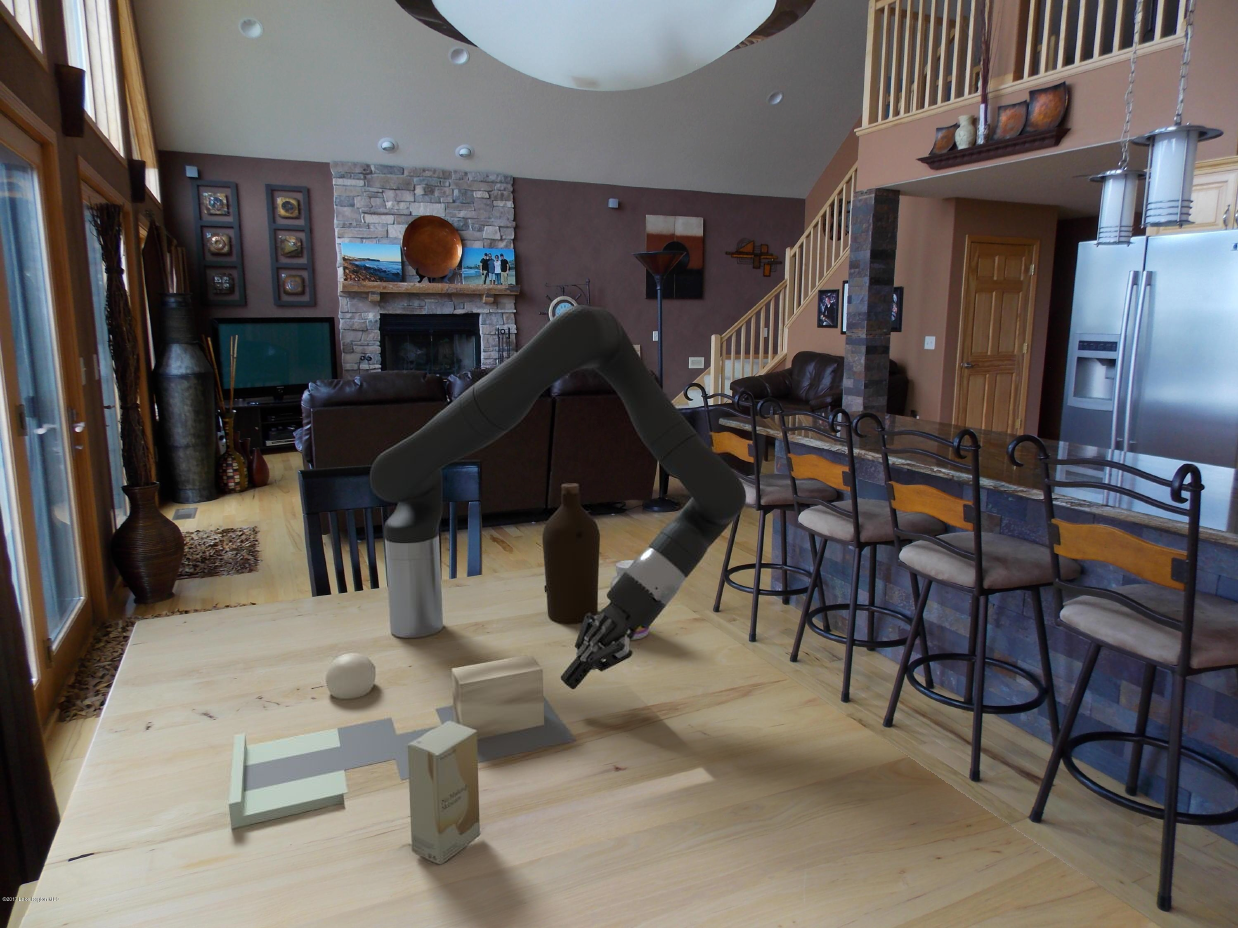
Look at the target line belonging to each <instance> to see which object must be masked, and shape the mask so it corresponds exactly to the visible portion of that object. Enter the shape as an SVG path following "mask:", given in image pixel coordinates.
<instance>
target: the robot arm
mask: <svg viewBox="0 0 1238 928" xmlns="http://www.w3.org/2000/svg"><path fill="white" fill-rule="evenodd" d="M583 368H585V369H589V368H590V369H591V368H593V370H595V371H596V372H597V373H598V374H599V375H600V376H602V377H603V378H604V379H605V380H606V382H608V384H609V385H611V386H612V388H613V389H614V390H615V392H616V393H617V395H618V396H619V397H620V399H621V401H622V403H623V405H624V407H625V409H626V411H627V413H628V415H629V419H630V421H631V424H632V425H633V427H634V429H635V431H636V433H637V435H638V437H639V438H640V439H641V441H642V442H643V444H644V445H645V446H646V448H647V449H648V450H649V452H650V453H651V455H653V457H654V458H655V459H656V460H657V462H658V463H659V464H660V465H661V467H662V468H663V469H664V470H665V471H666V472H667V473H668V475H670V476H671V477H674V478H677V479H678V481H679V482H680V483H681V485H682V486H683V487H684V488H685V490H686V491H687V492H688V493H689V494H690V496H691V498H690V499H689V500H688V502H687V503H686V504H685V505H684V507H683V508H682V509H681V511H680V512H679V513H678V514H677V515H676V517H675V518H674V519H673V520H671V521H670V522H668V524H666V526H664V527H663V528H662V529H661V530H660V532H659V533H657V536H655V538H654V539H653V540H652V541H651V543H650V544H649V545H648V546H647V547H646V548H645V550H643V551H642V552H641V553H640V554H639V555H638V556H637V557H636V558H635V559H634V560H633V563H632V564H631V565H630V566H629V567H628V569H627V570H626V571H625V572H624V573H623V575H622V576H621V577H620V578H619V579H618V581H617V582H616V583H615V584H614V585H613V587H612V588H611V587H610V589H609V590H608V591H607V593H606V598H607V599H608V600H609V604H607V605H606V606H605V607H603V609H601V610H600V611H599V613H598V614H597V615H596V616H593V615H592V614H591V613H588V614H587V615H586V616H585V618H584V621H583V622H582V623H581V627H580V629H579V632H578V636H577V639H576V640H575V644H574V648H575V649H576V653H575V658H574V660H573V661H572V662H571V663H570V664H569V666H568V667H567V668H566V669H565V671H564V672H563V673H562V674H561V676H560V680H561V681H562V682H563V683H564V685H566V686H567V687H568V688H569V689H571V690H575V689H576V688H577V687H578V686H579V685H580V684H581V683H582V682H583V680H584V679H585V678H586V677H587V675H588V674H590V672H591V671H595V670H598V671H599V672H605V671H607V670H608V669H610V668H612V667H614V666H616V665H617V664H620V663H623V661H625V660H627V659H630V658H631V657H632V656H633V650H632V649H631V648H630V647H629V646H630V641H632V640H631V639H632V638H633V637H634V635H635V633H636V631H637V629H638V628H639V627H640V626H641V627H642V628H643V629H647V628H648V627H649V628H650V626H651V625H652V624H653V623H654V621H655V620H656V619H657V618H658V616H660V614H661V613H662V612H663V610H664V609H665V608H667V605H669V603H670V602H671V601H672V599H673V598H674V597H675V596H676V595H677V593H678V592H679V590H680V588H681V587H682V586H683V583H684V582H685V581H686V579H687V578H688V577H689V576H690V575H691V574H692V572H693V571H694V570H695V568H696V567H697V566H698V565H699V563H700V562H701V561H702V560H703V558H704V557H705V555H706V554H707V551H708V549H709V548H710V547H711V546H712V545H713V544H714V542H715V541H717V539H718V538H719V537H720V536H721V535H722V534H723V532H725V530H727V528H728V527H729V526H730V525H731V524H732V523H733V521H734V520H736V518H737V517H738V516H739V515H740V513H741V512H742V511H743V509H744V507H745V505H746V503H747V501H746V500H747V494H746V493H747V491H746V488H745V486H744V484H743V482H742V481H741V479H740V478H739V476H738V475H737V474H736V472H735V471H734V470H733V469H732V468H731V467H730V466H729V465H728V463H726V462H725V461H724V460H723V459H722V458H721V457H719V455H717V454H716V453H715V452H714V451H713V450H712V449H711V448H709V447H708V445H707V444H706V443H705V441H704V440H703V439H702V438H701V437H700V435H699V433H698V432H697V431H696V430H695V428H693V426H692V425H691V424H690V423H689V421H688V420H687V419H686V418H685V417H684V415H683V414H682V413H681V412H680V410H679V409H678V408H677V407H676V406H675V404H674V403H673V402H672V401H671V400H670V398H669V397H668V395H666V393H665V391H664V390H663V389H662V388H661V386H660V385H659V384H658V382H657V380H656V379H655V377H654V376H653V374H652V373H651V372H650V370H649V369H648V367H647V365H646V364H645V363H644V361H643V359H642V358H641V356H640V355H639V353H638V351H637V349H636V348H635V346H634V345H633V343H632V341H631V339H630V337H629V335H628V334H627V331H626V330H625V329H624V327H623V325H622V324H621V321H620V320H619V319H618V318H617V316H616V315H615V314H614V313H613V312H611V311H609V310H607V309H605V308H603V307H598V306H590V305H585V304H584V305H582V304H577V305H572V306H569V307H566V308H564V309H563V310H561V311H559V312H558V313H557V314H556V315H555V316H553V317H552V318H551V319H550V321H549V322H548V323H546V324H545V325H544V326H543V327H542V329H540V331H538V333H536V335H535V336H533V338H531V340H530V341H529V342H527V344H525V345H524V346H523V347H522V348H521V349H520V350H518V352H516V353H514V354H513V355H512V356H511V357H509V358H507V359H506V360H505V361H503V362H501V364H499V366H497V367H496V368H495V369H493V370H492V371H491V372H489V373H488V374H487V375H485V376H483V377H482V378H481V379H480V380H478V381H477V382H475V383H474V384H473V385H472V386H470V387H469V388H468V389H467V390H465V391H463V393H461V394H460V395H459V396H458V397H457V398H456V399H455V400H454V401H452V402H451V403H450V404H449V405H447V406H446V407H445V408H444V409H442V410H440V412H438V413H437V414H436V415H435V416H434V417H433V418H432V419H431V420H429V421H428V422H427V423H426V424H425V425H424V426H423V427H421V428H420V429H419V430H417V431H416V432H415V433H413V434H412V435H410V436H408V437H407V438H406V439H403V440H401V441H400V442H399V443H397V444H395V445H394V446H392V447H390V448H388V449H387V450H385V451H383V452H382V453H380V454H379V455H378V456H377V458H376V459H375V460H374V462H373V463H372V466H371V468H370V473H369V484H370V488H371V490H372V491H373V494H375V495H376V496H377V497H378V498H380V499H382V500H383V501H385V502H389V503H397V506H396V508H395V509H394V511H393V513H392V514H391V515H390V516H389V517H388V519H387V520H386V521H385V522H384V529H383V533H384V546H385V557H386V558H385V561H386V575H387V578H386V579H387V591H388V592H387V593H388V606H389V607H388V611H389V625H390V626H389V627H390V632H391V634H392V635H394V636H395V637H399V638H405V639H412V638H413V639H414V638H415V639H416V638H423V637H427V636H432V635H434V634H436V633H438V632H440V631H441V630H442V629H443V628H444V619H443V617H444V614H443V597H442V596H443V595H442V594H443V593H442V573H441V555H440V537H439V535H440V534H439V527H440V526H439V525H440V523H441V520H442V517H443V516H442V515H443V474H442V472H443V471H442V469H443V468H444V467H446V466H448V465H449V464H451V463H454V462H455V461H458V460H461V459H462V458H464V457H467V456H470V455H471V454H474V453H475V452H477V451H479V450H481V449H483V448H485V447H486V446H489V445H490V444H492V443H493V442H495V441H497V440H498V439H500V438H501V437H502V436H503V435H505V434H506V433H508V432H509V431H510V430H512V429H513V428H514V427H515V426H516V425H517V426H518V424H519V423H520V422H521V421H522V420H523V419H524V418H525V417H526V415H527V414H528V413H529V412H530V410H531V409H532V407H533V406H534V404H535V403H536V401H537V400H538V398H539V397H540V396H541V394H543V393H544V392H545V391H546V390H547V389H548V388H550V387H551V386H552V385H554V384H556V383H557V382H558V381H560V380H562V379H563V378H564V377H567V376H568V375H570V374H571V373H574V372H576V371H578V370H581V369H583Z"/></svg>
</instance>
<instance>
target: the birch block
mask: <svg viewBox="0 0 1238 928" xmlns="http://www.w3.org/2000/svg"><path fill="white" fill-rule="evenodd" d="M543 670H544V668H543V667H542V666H541V665H540V663H539V662H538V661H537V659H535V657H534V656H533V654H527V655H520V656H516V657H510V658H504V659H499V660H492V661H487V662H482V663H476V664H470V665H465V666H459V667H453V668H451V684H452V703H453V704H452V705H453V707H454V722H455V723H458V724H461V725H463V726H466V727H469V728H471V729H474V730H477V739H480V738H485V737H490V736H494V735H499V734H503V733H508V732H513V731H517V730H522V729H527V728H531V727H536V726H541V725H544V700H543V696H544V673H543V672H544V671H543Z"/></svg>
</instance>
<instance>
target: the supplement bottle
mask: <svg viewBox="0 0 1238 928" xmlns="http://www.w3.org/2000/svg"><path fill="white" fill-rule="evenodd" d="M633 561H634V560H630V559H629V560H621V561H617V562H616V564H615V573H616V576H614V577H613V578H612V579H611V581H610V589H611V588H612V587H613V585H614V584H615V583H616V582H617V581H618V579H619V578H620V577H621V576H622V575H623V573H624V572H625V571H626V570H627V569H628V567H629V566H630V565H631V564H632V563H633ZM649 630H650V626H649V627H648V628H647V629H643V628H642V627H641V626H640V627H639V628H638V629H637V631H636V633H635V635H634V637H633V638H632V639H631V640H630V641H634V640H635V641H636V640H640V639H643V638H645V637H647V635H649V632H650V631H649Z"/></svg>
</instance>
